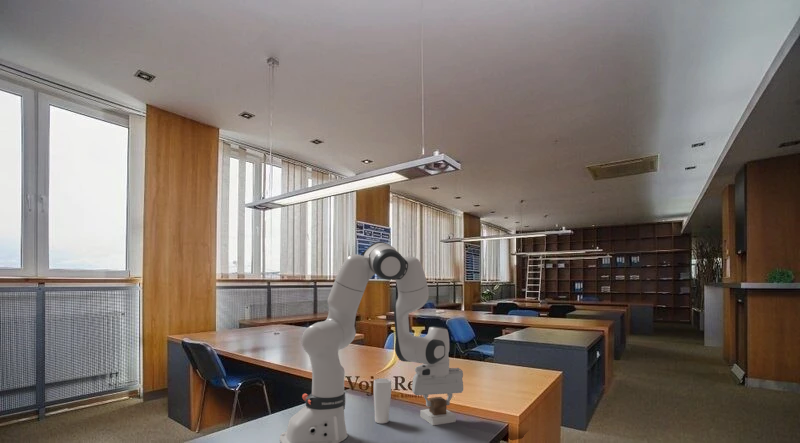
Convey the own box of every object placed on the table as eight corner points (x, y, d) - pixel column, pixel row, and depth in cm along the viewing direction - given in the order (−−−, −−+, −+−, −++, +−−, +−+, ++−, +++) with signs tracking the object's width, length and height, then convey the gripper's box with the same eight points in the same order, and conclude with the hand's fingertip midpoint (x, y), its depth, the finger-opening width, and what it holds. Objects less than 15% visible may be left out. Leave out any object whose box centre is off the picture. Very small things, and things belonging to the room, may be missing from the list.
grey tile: (433, 425, 154) (433, 418, 155) (420, 416, 163) (420, 410, 164) (455, 421, 158) (455, 414, 159) (442, 413, 167) (442, 407, 168)
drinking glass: (388, 425, 153) (389, 383, 155) (370, 423, 155) (371, 382, 157) (392, 419, 160) (393, 378, 162) (375, 417, 161) (376, 377, 163)
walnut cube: (434, 415, 158) (434, 401, 158) (429, 411, 162) (429, 397, 163) (446, 414, 159) (446, 400, 160) (440, 409, 164) (440, 396, 165)
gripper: (459, 365, 169) (459, 401, 167) (411, 367, 164) (410, 404, 162) (465, 369, 162) (466, 406, 161) (415, 371, 158) (415, 409, 156)
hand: (437, 405), depth 161 cm, fingers open, 6 cm apart
